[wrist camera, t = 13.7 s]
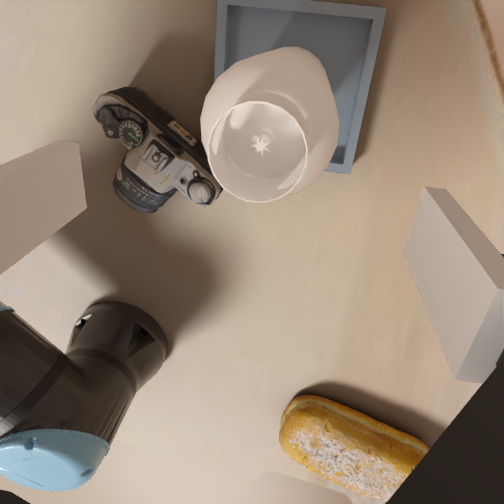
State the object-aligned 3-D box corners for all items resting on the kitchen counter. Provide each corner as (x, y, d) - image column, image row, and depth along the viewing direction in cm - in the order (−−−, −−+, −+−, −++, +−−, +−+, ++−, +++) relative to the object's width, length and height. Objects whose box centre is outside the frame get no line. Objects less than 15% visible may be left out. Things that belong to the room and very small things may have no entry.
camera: (93, 142, 50) (46, 165, 41) (135, 74, 45) (92, 84, 36) (192, 221, 53) (168, 258, 44) (240, 166, 49) (224, 195, 40)
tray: (215, 150, 48) (211, 156, 46) (222, -7, 40) (217, -9, 38) (348, 167, 47) (350, 174, 44) (383, 9, 39) (387, 7, 37)
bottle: (274, 30, 40) (214, 19, 16) (342, 70, 41) (383, 118, 17) (240, 104, 44) (148, 185, 20) (303, 139, 45) (289, 259, 21)
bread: (401, 477, 73) (411, 523, 66) (268, 427, 71) (263, 469, 64) (445, 436, 66) (460, 483, 59) (299, 379, 65) (297, 421, 58)
